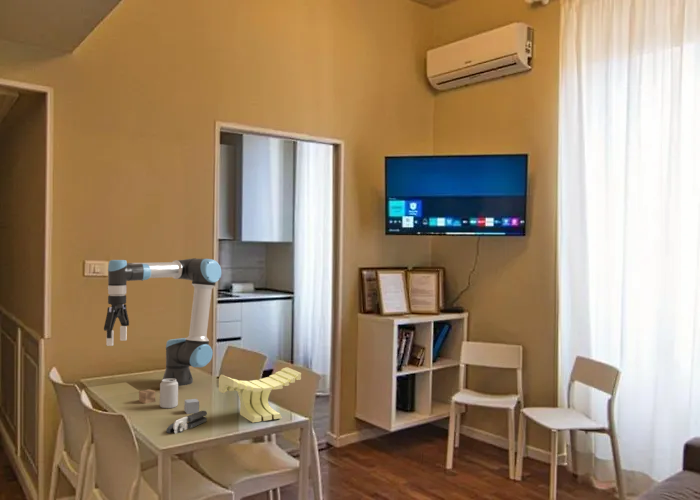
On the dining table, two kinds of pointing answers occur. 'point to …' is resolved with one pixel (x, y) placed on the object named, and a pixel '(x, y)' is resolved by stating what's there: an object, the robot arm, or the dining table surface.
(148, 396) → the walnut block
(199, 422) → the can opener
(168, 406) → the can
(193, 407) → the slate grey block
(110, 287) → the robot arm
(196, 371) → the dining table surface
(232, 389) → the slatted curved stool
